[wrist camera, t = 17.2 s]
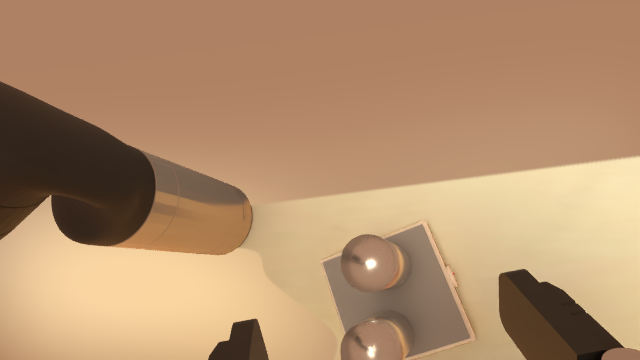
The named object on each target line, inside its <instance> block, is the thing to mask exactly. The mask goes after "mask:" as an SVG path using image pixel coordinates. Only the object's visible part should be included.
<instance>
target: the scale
mask: <svg viewBox="0 0 640 360" xmlns="http://www.w3.org/2000/svg"><path fill="white" fill-rule="evenodd" d="M380 238H383V239H385V240H387V241H389V242H391V243H393V244H396V245H398V246H400V247H401V248H403V249H404V250H405V251H406V252H407V254H408V255H409V257H410V260H411V266H412V267H411V273H410V276H409V278H408V279H407V281H406V282H405V283H404V284H402V285H401V286H399V287H396V288H391V289H386V290H381V291H376V292H362V291H359V290H357V289H355V288H353V287H352V286H351V285H350V284H349V283H348V282H347V281H346V280H345V278H344V276H343V274H342V271H341V262H340V261H341V255H342V252H341V253H338V254H336V255H333V256H331V257H328V258H325V259H323V260H320V261H321V264H322V267H323V270H324V273H325V276H326V279H327V282H328V285H329V289H330V292H331V295H332V298H333V301H334V304H335V307H336V310H337V313H338V316H339V319H340V323H341V326H342V329H343V332H344V335H345V334H346V333H347V331H348V330H349V329H350V328H352V327H353V326H355V325H356V324H358V323H360V322H362V321H365V320H367V319H369V318H371V317H373V316H375V315H377V314H379V313H381V312H384V311H395V312H398V313H400V314H402V315H403V316H405V317H406V318H407V319H408V321H409V322H410V324H411V326H412V328H413V331H414V342H413V346H412V348H411V350H410V351H409V353H408V354H407V356H406V357H405V359H404V360H413V359H416V358H419V357H423V356H426V355H429V354H433V353H436V352H439V351H442V350H446V349H449V348H452V347H455V346H459V345H462V344H465V343H468V342H472V341H475V340H476V336H475V334H474V332H473V329H472V327H471V325H470V322H469V320H468V318H467V315H466V313H465V311H464V308H463V306H462V304H461V301H460V299H459V297H458V294H457V292H456V290H455V287H458V284H457V282H456V280H455V277H454V275H455V274H454V273H452V270H451V268H450V266H449V265H447V266H445V264H444V262H443V259H442V257H441V255H440V252H439V250H438V248H437V245H436V243H435V241H434V238H433V236H432V234H431V231H430V229H429V227H428V224H427V222H426V221H425V220H423V221H421V222H418V223H416V224H413V225H411V226H408V227H405V228H403V229H400V230H398V231H395V232H393V233H390V234H387V235H385V236H382V237H380Z"/></svg>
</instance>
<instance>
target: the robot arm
mask: <svg viewBox="0 0 640 360" xmlns="http://www.w3.org/2000/svg"><path fill="white" fill-rule="evenodd" d="M50 195H52V196H51V197H52V198H51V202H52V203H51V204H52V212H53V216H54V219H55V222H56V224H57V226H58V227H59V229H60V230H61V232H62V233H63V234H64V235H65V236H66V237H68V238H69V239H71V240H73V241H75V242H78V243H82V244H88V245H97V246H110V247H122V248H136V249H147V250H159V251H171V252H185V253H196V254H211V255H223V254H227V253H229V252H232V251H233V250H235V249H236V248H238V247H239V246H240V245H241V244H242V243H243V241H244V240H245V238H246V237H247V235H248V232H249V230H250V227H251V222H252V211H251V205H250V203H249V200H248V198H247V197H246V195H245V194H244V193H243V192H242V191H241V190H240V189H238V188H236V187H234V186H232V185H229V184H226V183H224V182H221V181H219V180H217V179H214V178H212V177H209V176H206V175H203V174H201V173H199V172H196V171H193V170H191V169H188V168H185V167H183V166H180V165H178V164H175V163H173V162H170V161H167V160H165V159H162V158H160V157H157V156H154V155H151V154H149V153H146V152H144V151H141V150H139V149H136V148H134V147H132V146H129V145H126V144H125V143H123V142H122V141H120V140H118V139H117V138H115V137H114V136H112V135H110V134H109V133H107V132H106V131H104V130H102V129H101V128H99V127H97V126H95V125H93V124H90V123H88V122H86V121H84V120H82V119H79V118H77V117H75V116H73V115H71V114H68V113H66V112H64V111H62V110H60V109H58V108H56V107H54V106H52V105H49V104H47V103H45V102H43V101H41V100H39V99H37V98H35V97H33V96H31V95H29V94H27V93H25V92H23V91H20V90H18V89H16V88H14V87H12V86H9V85H7V84H5V83H2V82H0V240H1V239H2V238H3V237H5V236H6V235H7V234H8V233H10V232H11V231H12V230H13V229H14V228H15V227H16V226H17V225H19V224H20V223H21V222H22V221H23V220H24V219H25V218H26V217H27V216H28V215H29V214H30V213H31V212H32V211H34V209H36V208H37V207H38V206H39V205H40V204H41V203H42V202H43V201H44V200H45V199H46V198H47V197H49V196H50ZM499 312H500V318H501V321H502V324H503V326H504V328H505V330H506V332H507V333H508V335H509V336H510V337H511V339H512V340H513V341H514V343H515V344H516V346H517V347H518V348H519V350H520V351H521V352H522V354H523V355H524V357H525V358H526V359H527V360H640V351H638V350H635V349H629V348H624V347H623V346H622V345H621V344H620V343H619V342H618V341H617V340H616V339H615V338H614V337H613V336H612V335H610V334H609V333H608V332H607V331H606V330H605V329H604V328H603V327H602V326H601V325H600V324H599V323H598V322H597V321H595V320H594V319H593V318H592V317H591V316H590V315H589V314H588V313H586V312H585V310H584V309H583V308H582V307H580V306H579V305H578V304H576V303H575V301H574V300H573V299H572V298H571V297H570V296H569V295H568V294H567V293H566V292H564V291H563V290H562V289H560V288H558V287H556V286H554V285H552V284H550V283H548V282H541V283H539V282H538V281H537V280H536V279H535V278H534V277H533V276H532V275H531V274H530V273H529V272H528V271H527V270H525V269H521V270H516V271H510V272H505V273H501V274H500V275H499ZM208 360H269V359H268V355H267V351H266V347H265V344H264V341H263V337H262V333H261V330H260V326H259V323H258V320H257V319H251V320H246V321H241V322H235V323H233V326H232V330H231V335H230V339H229V341H223V342H219V343H218V344H217V346H216V347H215V348H214V350H213V351H212V353H211V354H210V355H209V359H208Z"/></svg>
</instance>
